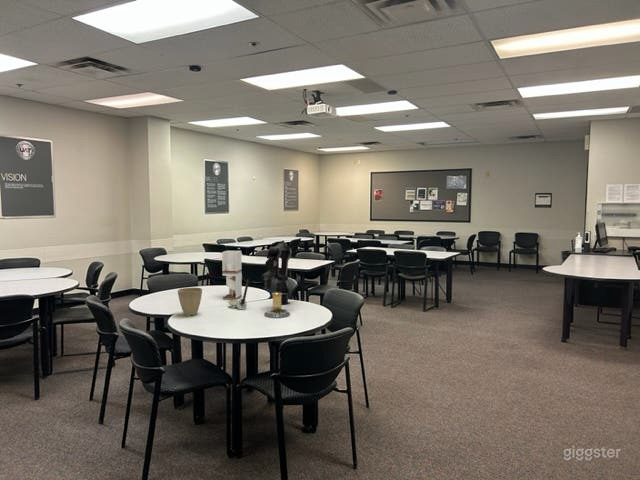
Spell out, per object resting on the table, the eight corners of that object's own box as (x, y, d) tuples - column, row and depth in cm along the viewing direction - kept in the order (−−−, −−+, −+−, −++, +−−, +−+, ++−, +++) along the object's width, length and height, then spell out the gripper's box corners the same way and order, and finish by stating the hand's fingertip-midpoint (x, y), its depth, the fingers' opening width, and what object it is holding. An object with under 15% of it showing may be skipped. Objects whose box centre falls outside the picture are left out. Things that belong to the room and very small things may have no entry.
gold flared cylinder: (274, 312, 286) (274, 291, 285) (283, 312, 285) (283, 292, 284) (270, 314, 280) (270, 293, 280) (280, 314, 279) (279, 294, 278)
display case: (228, 296, 340) (227, 250, 338) (241, 297, 339) (241, 250, 336) (222, 299, 329) (222, 252, 327) (236, 300, 328) (236, 252, 325)
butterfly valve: (224, 306, 306) (236, 308, 293) (231, 277, 310) (243, 278, 297) (235, 308, 311) (247, 310, 298) (242, 280, 315) (254, 281, 302)
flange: (266, 311, 291) (266, 308, 291) (291, 312, 290) (291, 308, 290) (262, 317, 275) (262, 313, 275) (288, 318, 274) (288, 314, 274)
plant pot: (181, 312, 290) (180, 287, 289) (204, 311, 291) (204, 287, 290) (175, 317, 275) (174, 291, 274) (200, 317, 276) (199, 291, 275)
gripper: (255, 266, 294) (255, 290, 295) (277, 269, 283) (277, 293, 284) (267, 265, 303) (267, 288, 304) (288, 267, 292) (288, 291, 293)
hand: (274, 290), depth 296 cm, fingers open, 9 cm apart
